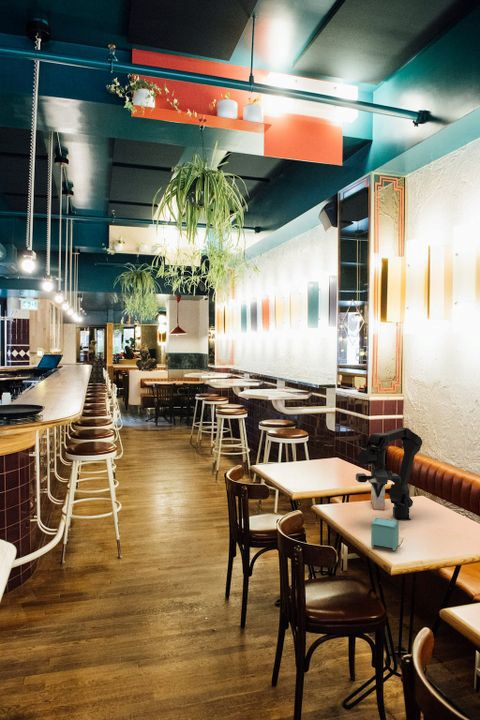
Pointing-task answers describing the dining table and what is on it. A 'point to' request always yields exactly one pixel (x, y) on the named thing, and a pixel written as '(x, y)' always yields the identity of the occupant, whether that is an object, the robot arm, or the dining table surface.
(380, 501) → the cracker box
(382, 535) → the cover
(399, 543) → the parcel base
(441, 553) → the dining table surface
